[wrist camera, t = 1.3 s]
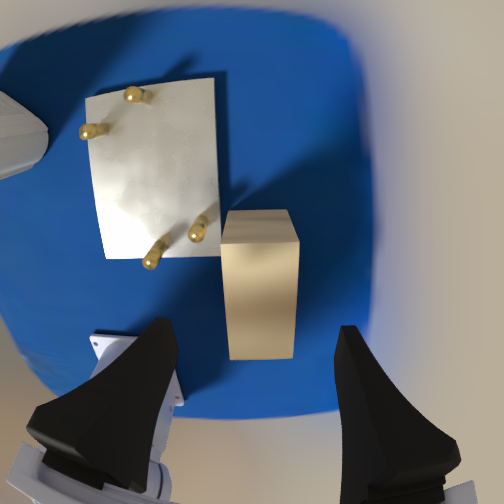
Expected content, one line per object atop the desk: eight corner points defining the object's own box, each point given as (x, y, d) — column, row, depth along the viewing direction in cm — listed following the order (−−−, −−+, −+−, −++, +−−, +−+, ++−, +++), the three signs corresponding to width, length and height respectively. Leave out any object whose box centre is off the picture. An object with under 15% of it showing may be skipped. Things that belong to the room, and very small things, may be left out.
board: (284, 306, 24) (292, 358, 19) (234, 307, 24) (230, 359, 19) (286, 209, 21) (299, 242, 15) (228, 210, 21) (220, 244, 15)
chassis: (223, 251, 22) (219, 272, 19) (110, 254, 22) (93, 273, 19) (215, 79, 17) (208, 71, 14) (90, 98, 17) (67, 97, 14)
